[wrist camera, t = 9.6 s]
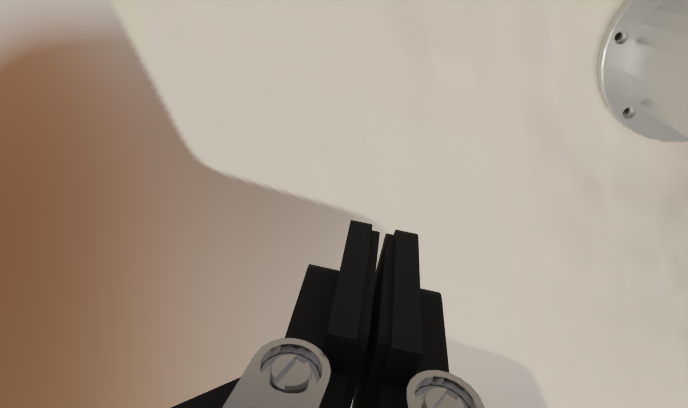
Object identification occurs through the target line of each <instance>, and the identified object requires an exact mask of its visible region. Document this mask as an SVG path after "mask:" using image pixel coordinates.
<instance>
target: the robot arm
mask: <svg viewBox="0 0 688 408" xmlns="http://www.w3.org/2000/svg"><path fill="white" fill-rule="evenodd" d="M618 32H619V33H620V36H619V38H618V39H615V35H616V34H617V33H618ZM597 78H598V85H599V90H600V93H601V95H602V98H603V101H604V103H605V105H606V106H607V108H608V109H609V111H610V112H611V114H612V115H613V116H614V117H615V118H616V119H618V120H619V121H620V122H621V123H622V124H623V125H624V126H626V127H627V128H629V129H630V130H632V131H633V132H635V133H637V134H640V135H642V136H644V137H647V138H650V139H655V140H660V141H667V142H684V141H688V0H625V1H624V3H623V4H622V5H621V7H620V8H619V10H618V11H617V13H616V14H615V16H614V17H613V19H612V20H611V22H610V24H609V26H608V29H607V31H606V33H605V35H604V37H603V40H602V44H601V47H600V51H599V54H598V64H597ZM626 108H628V109H627V111H626V112H624V113H623V111H624V110H625V109H626ZM379 233H380V232H377V231H372V224H367V223H362V222H358V221H353V220H351V222H350V227H349V232H348V236H347V240H346V245H345V249H344V254H343V259H342V263H341V268H340V271H338V270H333V269H329V268H324V267H320V266H315V265H311V264H309V266H308V268H307V272H306V275H305V278H304V281H303V284H302V287H301V290H300V293H299V296H298V299H297V302H296V305H295V308H294V311H293V314H292V318H291V321H290V324H289V327H288V330H287V333H286V336H285V338H281V339H278V340H274V341H271V342H269V343H267V344H265V345H264V346H262V347H261V348H260V349H259V350H258V351H257V353H256V354H255V355H254V357H253V358H252V360H251V362H250V363H249V365H248V366H247V368H246V370H245V371H244V373H243V375H242V376H241V377H240V378H238V379H236V380H233V381H231V382H229V383H226V384H224V385H222V386H220V387H217V388H215V389H213V390H211V391H208V392H206V393H204V394H201V395H199V396H197V397H194V398H192V399H190V400H188V401H185V402H183V403H181V404H178V405H176V406H174V407H172V408H350V407H351V403H352V400H353V404H352V408H484V405H483V403H482V401H481V399H480V397H479V395H478V394H477V393H476V392H475V390H474V389H473V388H472V387H471V386H470V385H469V384H468V383H466V382H465V381H464V380H462V379H461V378H459V377H457V376H455V375H453V374H451V373H449V368H448V357H447V348H446V337H445V327H444V317H443V307H442V298H441V294H440V293H439V292H434V291H430V290H425V289H420V274H419V247H418V235H417V234H414V233H409V232H404V231H400V230H395V233H394V235H391V234H386V235H385V239H384V243H383V247H382V250H381V254H380V258H379V262H378V266H377V269H376V262H377V252H378V243H379ZM375 272H376V273H375Z"/></svg>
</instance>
